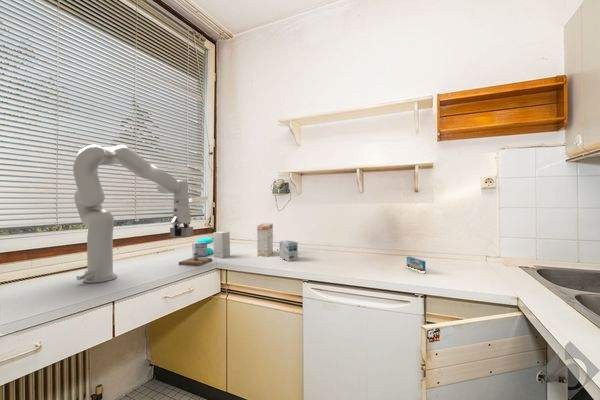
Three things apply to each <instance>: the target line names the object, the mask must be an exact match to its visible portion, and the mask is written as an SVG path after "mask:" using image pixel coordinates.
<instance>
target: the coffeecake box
mask: <svg viewBox="0 0 600 400" xmlns="http://www.w3.org/2000/svg"><path fill="white" fill-rule="evenodd" d="M273 228H274V226H273V223H267V222H266V223H261V224H258V225H257V226H256V234H257V235H256V239H257V241H256V243H257V246H256V250H257V253H256V255H257V257H259V256H268V255H269V256H270V255H271V254H273V252H274V248H273V247H274V242H273V241H274V236H273V234H274V229H273ZM269 256H268V257H269Z"/></svg>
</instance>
